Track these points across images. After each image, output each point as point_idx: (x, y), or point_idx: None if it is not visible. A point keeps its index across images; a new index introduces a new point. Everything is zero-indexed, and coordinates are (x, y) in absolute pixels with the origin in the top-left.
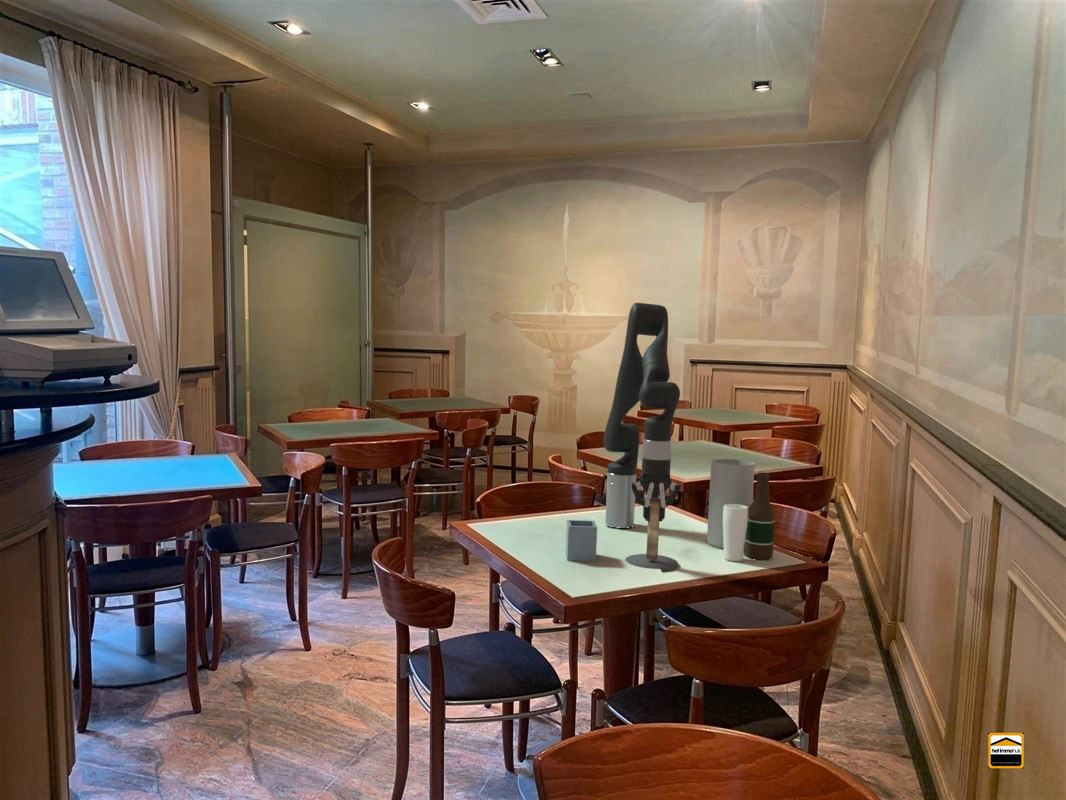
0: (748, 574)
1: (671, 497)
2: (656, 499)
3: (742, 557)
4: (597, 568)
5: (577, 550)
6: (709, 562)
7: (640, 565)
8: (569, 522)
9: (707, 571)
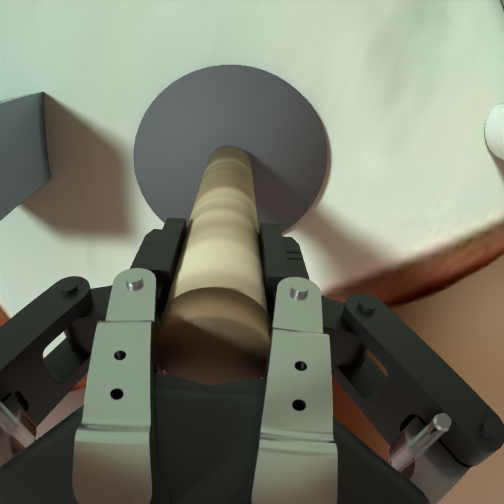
0: (460, 255)
1: (361, 404)
2: (232, 359)
3: None
4: (57, 217)
5: None
6: (434, 147)
7: (177, 216)
8: None
9: (384, 234)
